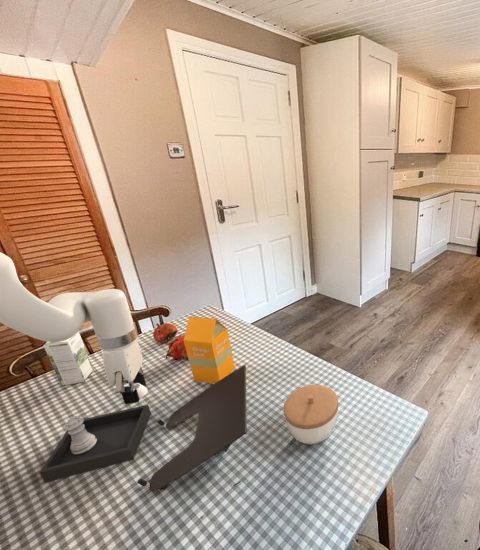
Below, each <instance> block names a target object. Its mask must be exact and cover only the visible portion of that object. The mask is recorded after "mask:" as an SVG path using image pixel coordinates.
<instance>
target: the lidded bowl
mask: <svg viewBox="0 0 480 550" xmlns="http://www.w3.org/2000/svg"><path fill="white" fill-rule="evenodd" d="M283 415H284V418H285V423H286V426H287V429H288V431H289V433H290V435H291V436H292V437H293V438H294V439H295V440H296V441H298V442H300V443H302V444H306V445H317V444H320V443H321V442H323V441H325V440H326V439H327V438H329V436H331V434H332V433H333V431H334V430H335V427H336V425H337V422H338V417H339V416H338V415H339V398H338V395H337V393H336V392H335V390H333V389H332V388H331V387H330V386H326V385H323V384H314V383H313V384H307V385H304V386H301V387H299V388H296V389H295V390H294V391H292V392H291V393H290V394H289V395H288V396H287V398H286V400H285V402H284V403H283Z"/></svg>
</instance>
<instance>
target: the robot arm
mask: <svg viewBox="0 0 480 550" xmlns="http://www.w3.org/2000/svg"><path fill="white" fill-rule="evenodd" d="M88 321H90V322H91V326H92V328H93V331H94V335H95V337H96V340H97V343H98V346H99V348H100V350H101V352H102V353H101V354H102V363H103V367H104V371H105V375H106V378H107V382H108V385H109V386H110V387H113V386H115V390H114V391H115V393H116V394H120V395H121V397H122V399H123V403H124V405H130V404H135V403H136V404H137V403H139V402H140V399H141V398H140V399H139V395H138V392H137V389H134V384H135V383H140V384H141V385H143V386H145V387H146V388H147V382H146V378H145V375H144V370H143V367H142V365H143V362H144V357H143V353H142V350H141V346H140V345H139V344H140V343H139V341H138V339H139V336H138V334H137V333H138V332H137V330H136V326H135V323H134V320H133V317H132V313H131V310H130V306H129V302H128V299H127V296H126V293H125V291H123V290H122V289H118V288H106V289H100V290H98V291H86V292H85V291H84V292H83V291H81V292H77V291H76V292H64V293H60V294H57V295H55V296H54V297H52V298H50V300H49V301H48V302H46V301H45V300H43V299H40V298H39V297H38V296H36V295H35V294H33V293H32V292H30V291H29V290H28V289H27V288H26V287H25V286H24V285H23V283H22V282H21V281H20V279H19V276H18V273H17V270H16V266H15V262H14V261H13V259H12V258H11V257H10V256H9V255H6V254H5V253H3V252H1V251H0V323H1V324H2V325H4V326H5V327H8V328H10V329H11V330H15V331H17V332H19V333H20V334H23V335H26V336H27V337H31V338H33V339H35V340H39V341H42V342H59V341H64V340H67V339H69V338H71V337H73V336H74V335H75V334H76V333H77V332H80V329H81V328H82V326H83V325H84V323H85V322H88ZM126 384H128V385H129V386H130V387H129V386H125V385H126Z"/></svg>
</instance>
